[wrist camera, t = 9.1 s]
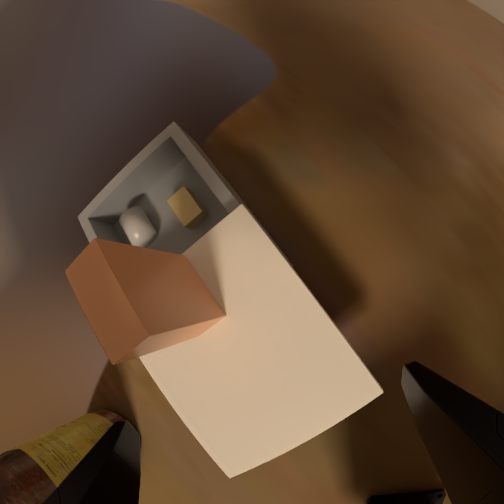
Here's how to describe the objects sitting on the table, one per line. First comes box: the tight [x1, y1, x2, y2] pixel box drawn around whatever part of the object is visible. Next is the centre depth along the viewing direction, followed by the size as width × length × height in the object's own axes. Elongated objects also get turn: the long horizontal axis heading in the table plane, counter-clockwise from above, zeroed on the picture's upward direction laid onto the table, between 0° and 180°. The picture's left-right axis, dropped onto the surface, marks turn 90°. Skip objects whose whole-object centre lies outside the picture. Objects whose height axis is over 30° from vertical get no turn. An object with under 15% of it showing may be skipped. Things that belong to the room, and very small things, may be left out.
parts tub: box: [78, 122, 294, 267], centre depth 21 cm, size 12×10×4 cm
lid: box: [65, 204, 384, 478], centre depth 13 cm, size 12×10×8 cm
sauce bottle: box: [0, 409, 125, 504], centre depth 14 cm, size 7×6×20 cm
